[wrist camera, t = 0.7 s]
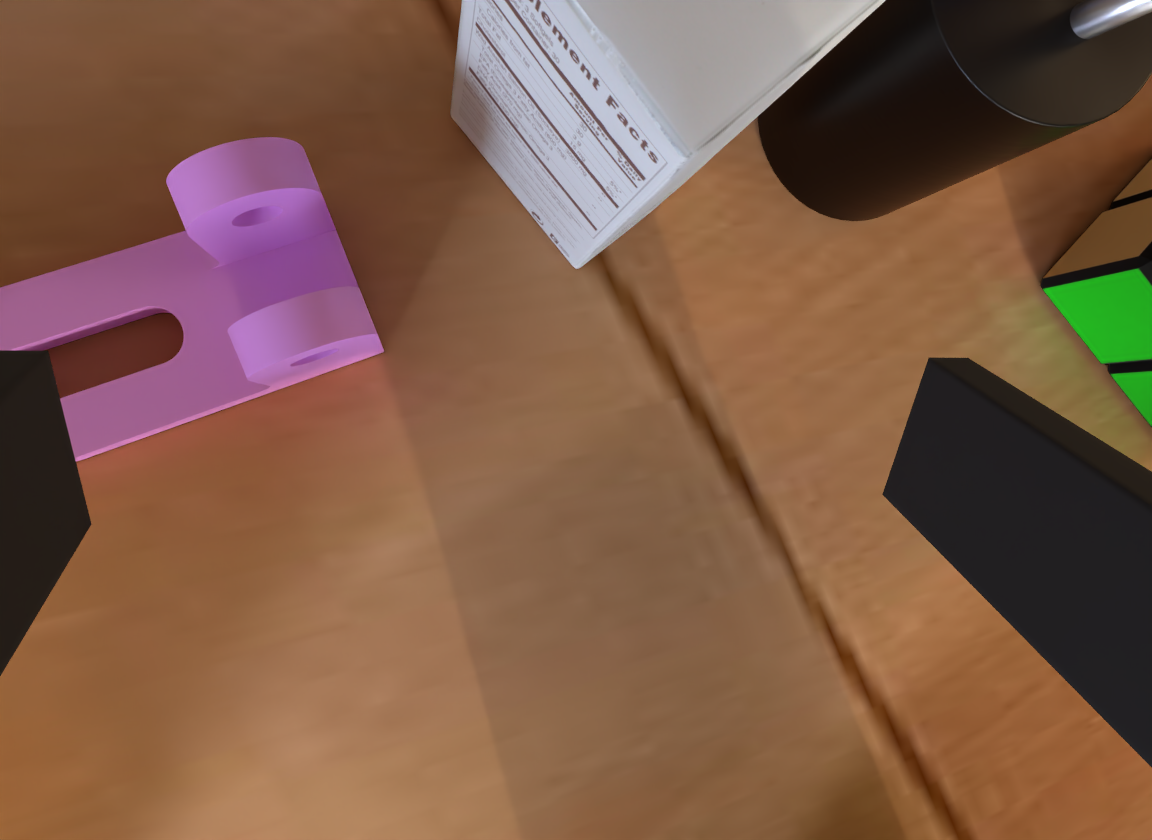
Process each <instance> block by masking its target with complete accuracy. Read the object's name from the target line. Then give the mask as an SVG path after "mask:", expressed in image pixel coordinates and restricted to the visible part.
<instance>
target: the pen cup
mask: <svg viewBox="0 0 1152 840" xmlns="http://www.w3.org/2000/svg"><path fill="white" fill-rule="evenodd" d="M1151 74H1152V0H886V1H884V2H883V3H882V4H881V5H880V6H879V7H878V8H877V9H876V10H875V11H873V12H872V13H871V14H870V15H869V16H868V17H867V18H866V19H865V20H863V21H862V22H861V23H860V24H859V25H858V26H857V27H856V28H855V29H854V30H852V31H851V32H850V33H849V34H848V35H847V36H846V37H845V38H844V39H843V40H841V41H840V42H839V43H838V44H837V45H836V46H835V47H834V48H833V49H831V50H830V51H829V52H828V53H827V54H826V55H825V56H824V57H823V58H822V59H820V60H819V61H818V62H817V63H816V64H815V65H814V66H813V67H812V68H811V69H809V70H808V71H807V72H806V73H805V74H804V75H803V76H802V77H801V78H800V79H798V80H797V81H796V82H795V83H794V84H793V85H792V86H791V87H790V88H789V89H787V90H786V91H785V92H784V93H783V94H782V95H781V96H780V97H779V98H778V99H776V100H775V101H774V102H773V103H772V104H771V105H770V106H769V107H768V108H767V109H765V110H764V111H763V112H762V113H761V114H760V115H759V116H758V123H759V131H760V136H761V141H762V145H763V148H764V151H765V154H766V156H767V159H768V161H769V163H770V165H771V167H772V169H773V171H774V172H775V174H776V175H777V177H778V178H779V180H780V181H781V183H782V184H783V185H784V186H785V187H786V188H787V190H788V191H789V192H790V193H791V194H792V195H793V196H795V197H796V198H797V199H798V200H799V201H800V202H802V203H803V204H805V205H806V206H807V207H809V208H811V209H813V210H814V211H816V212H818V213H820V214H823V215H826V216H828V217H831V218H836V219H840V220H849V221H861V220H869V219H873V218H878V217H880V216H883V215H885V214H888V213H890V212H892V211H895V210H897V209H899V208H901V207H904V206H906V205H908V204H911V203H913V202H915V201H917V200H920V199H922V198H924V197H927V196H929V195H931V194H933V193H936V192H938V191H940V190H943V189H945V188H947V187H949V186H952V185H954V184H956V183H958V182H961V181H963V180H965V179H968V178H970V177H972V176H974V175H977V174H979V173H981V172H984V171H986V170H988V169H990V168H993V167H995V166H997V165H1000V164H1002V163H1004V162H1006V161H1009V160H1011V159H1013V158H1015V157H1018V156H1020V155H1022V154H1025V153H1027V152H1029V151H1031V150H1034V149H1036V148H1038V147H1041V146H1043V145H1045V144H1047V143H1050V142H1052V141H1054V140H1056V139H1059V138H1061V137H1063V136H1066V135H1068V134H1070V133H1072V132H1075V131H1077V130H1079V129H1082V128H1084V127H1086V126H1088V125H1091V124H1093V123H1095V122H1098V121H1100V120H1102V119H1104V118H1106V117H1108V116H1110V115H1111V114H1113V113H1115V112H1116V111H1118V110H1119V109H1121V108H1122V107H1123V106H1124V105H1125V104H1127V103H1128V102H1129V101H1130V100H1131V99H1132V98H1133V97H1134V96H1135V95H1136V94H1137V93H1138V92H1139V90H1140V89H1141V88H1142V87H1143V85H1144V84H1145V83H1146V81H1147V80H1148V78H1149V77H1150V75H1151Z"/></svg>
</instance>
